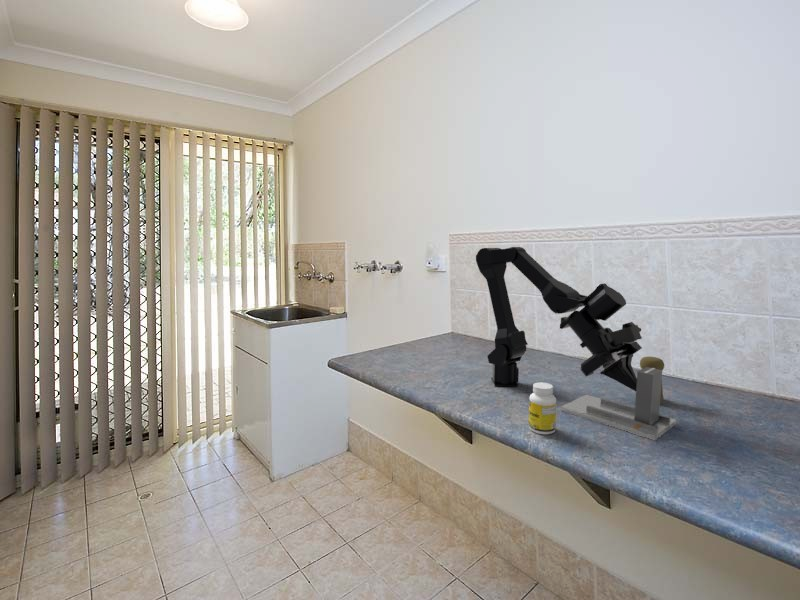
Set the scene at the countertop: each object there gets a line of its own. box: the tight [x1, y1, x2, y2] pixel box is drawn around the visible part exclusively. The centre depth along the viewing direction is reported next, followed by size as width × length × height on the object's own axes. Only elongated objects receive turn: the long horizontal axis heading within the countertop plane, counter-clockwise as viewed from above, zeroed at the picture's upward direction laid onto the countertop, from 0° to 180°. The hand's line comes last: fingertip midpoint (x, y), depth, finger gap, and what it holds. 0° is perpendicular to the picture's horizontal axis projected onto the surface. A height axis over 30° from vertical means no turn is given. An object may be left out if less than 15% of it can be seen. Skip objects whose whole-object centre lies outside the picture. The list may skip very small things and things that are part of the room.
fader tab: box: [634, 367, 663, 424], centre depth 86 cm, size 3×5×11 cm, turn 129°
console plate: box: [560, 394, 677, 441], centre depth 92 cm, size 20×12×2 cm, turn 39°
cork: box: [639, 356, 665, 405], centre depth 101 cm, size 6×6×11 cm
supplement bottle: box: [528, 381, 557, 435], centre depth 85 cm, size 5×5×10 cm
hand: (638, 390), depth 88 cm, fingers closed
